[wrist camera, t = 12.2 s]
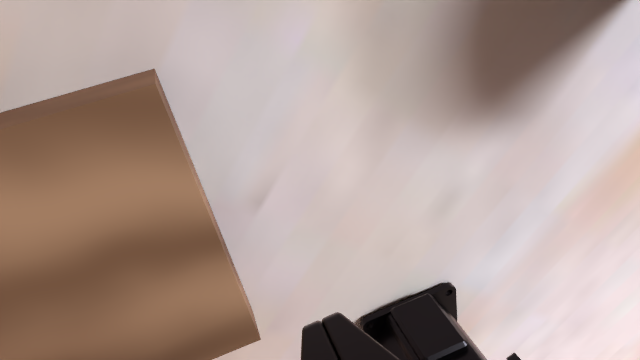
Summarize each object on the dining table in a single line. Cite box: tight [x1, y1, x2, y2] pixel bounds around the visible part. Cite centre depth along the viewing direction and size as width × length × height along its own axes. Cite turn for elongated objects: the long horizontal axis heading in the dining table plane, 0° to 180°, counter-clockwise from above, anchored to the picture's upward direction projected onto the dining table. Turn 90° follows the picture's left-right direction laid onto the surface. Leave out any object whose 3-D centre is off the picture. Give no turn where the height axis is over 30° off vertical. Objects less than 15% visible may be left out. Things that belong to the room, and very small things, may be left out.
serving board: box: [0, 69, 261, 360], centre depth 19 cm, size 14×12×2 cm
